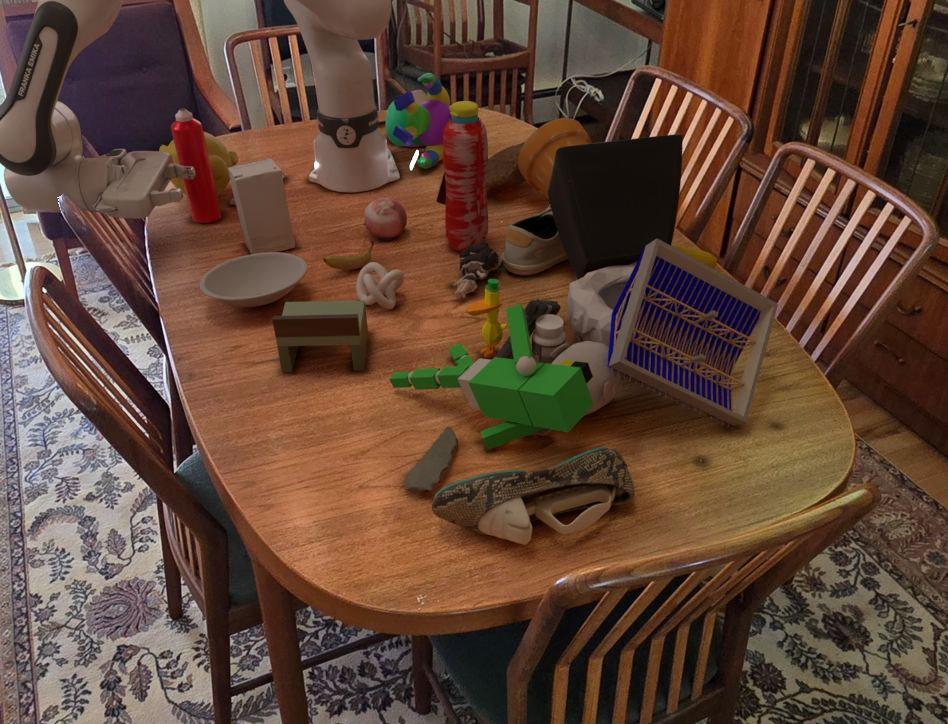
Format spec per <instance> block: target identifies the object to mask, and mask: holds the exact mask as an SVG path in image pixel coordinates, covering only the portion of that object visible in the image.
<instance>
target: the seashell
mask: <svg viewBox="0 0 948 724" xmlns="http://www.w3.org/2000/svg"><path fill="white" fill-rule="evenodd" d="M525 142H526V141H523V142H521V143H518V144H516V145H511V146H508V147H506V148H504V149H502V150H500V151H498V152H497V153H494V154H493V155H491V156H490V157H488V166H487V176H486V193H487V192H489V191H490V190H492V189H495V188H497V189H507V188H512V187H517V186H520V185H522V184H523V183H527V181H526V180H525V178H524V177H523V175H522V174H521V172H520V170H519V166H518V158H519V154H520V151H521V149H522V147H523V145H524V143H525Z"/></svg>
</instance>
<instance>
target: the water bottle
mask: <svg viewBox="0 0 948 724" xmlns="http://www.w3.org/2000/svg"><path fill="white" fill-rule="evenodd" d="M450 110H451V112H450V114H451V115H452V117H451V118H450V120H449V122H448V123H447V125H446V127H445V129H444V131H443V158H442V165H443V176H442V178H441V183H440V185H439V186H440V187H439V190H438V194H437V198H436V200H435V201H436V203H438V204H441V205H444V206H445V212H444V213H445V215H444V227H445V237H446V239H447V242H448V244H449V245H450V247H451V248H452V250H454V251H456V252H459V253H461V252H462V251H464V250H465V249H467V247H468V246H469V245H471V244H478V243H486V240H487V237H488V234H489V209H488V196H487V192H486V176H487V166H488V159H489V140H488V131H487V128H486V125H485V124H484V123H483V121H482V118H481V117H479V104H477V103H476V102H475V101H470V100H461V101H455V102H454V103H452V104H451V105H450Z"/></svg>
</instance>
